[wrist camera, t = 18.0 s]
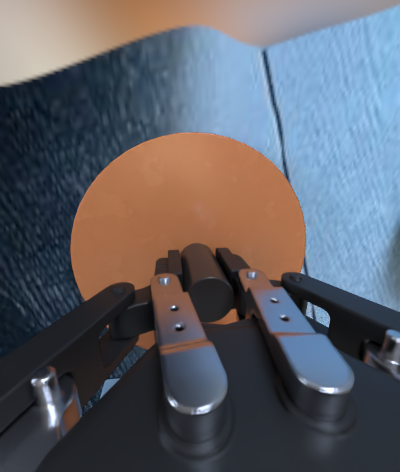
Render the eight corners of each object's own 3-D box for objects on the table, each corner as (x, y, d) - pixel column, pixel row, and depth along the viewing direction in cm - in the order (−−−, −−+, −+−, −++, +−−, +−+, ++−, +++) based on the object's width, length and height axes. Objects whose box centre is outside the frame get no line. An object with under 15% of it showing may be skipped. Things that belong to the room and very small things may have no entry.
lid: (93, 354, 17) (56, 447, 11) (57, 132, 13) (-35, 100, 7) (285, 334, 19) (336, 405, 14) (311, 137, 15) (403, 116, 9)
